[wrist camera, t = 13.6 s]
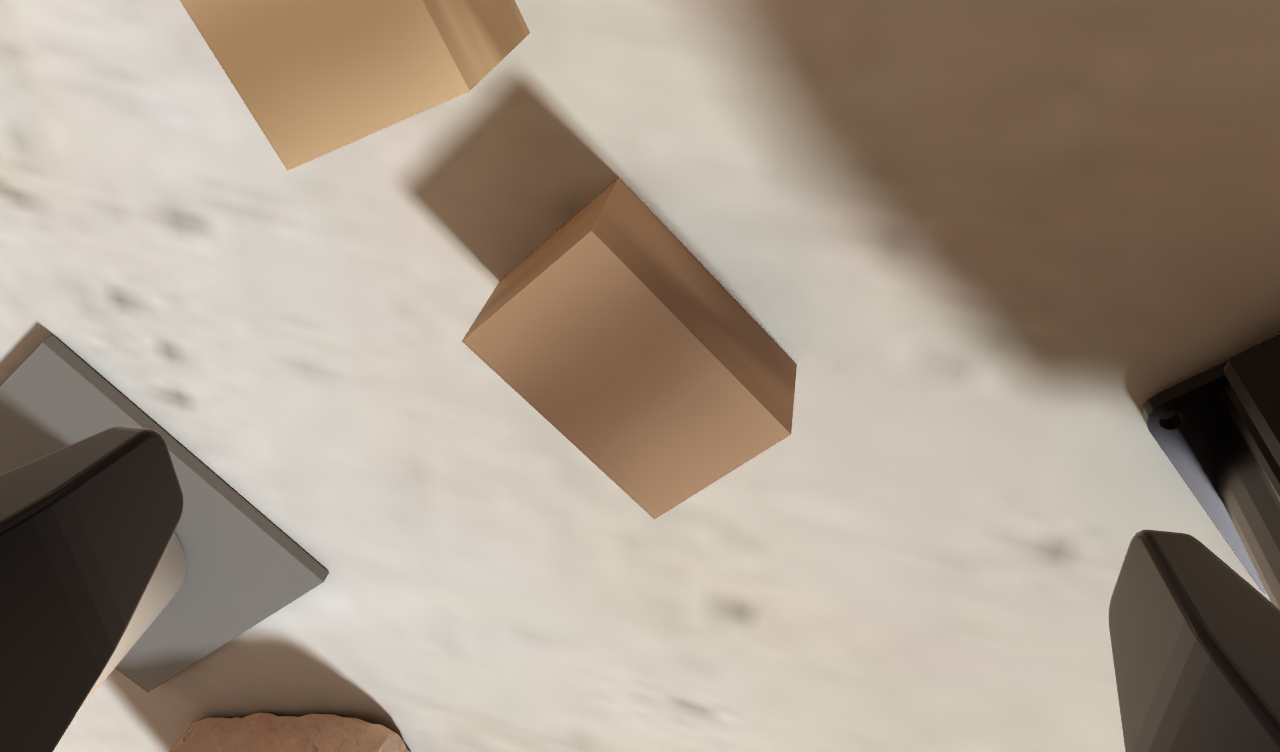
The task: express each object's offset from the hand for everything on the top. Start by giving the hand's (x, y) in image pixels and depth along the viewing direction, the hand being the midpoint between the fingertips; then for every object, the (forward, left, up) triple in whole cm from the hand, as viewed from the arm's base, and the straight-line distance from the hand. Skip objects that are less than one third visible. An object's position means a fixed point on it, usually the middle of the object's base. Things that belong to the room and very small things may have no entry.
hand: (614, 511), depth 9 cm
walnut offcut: (-3, +5, -13) cm, 15 cm away
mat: (+1, +24, -13) cm, 27 cm away
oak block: (+6, +4, -13) cm, 15 cm away
